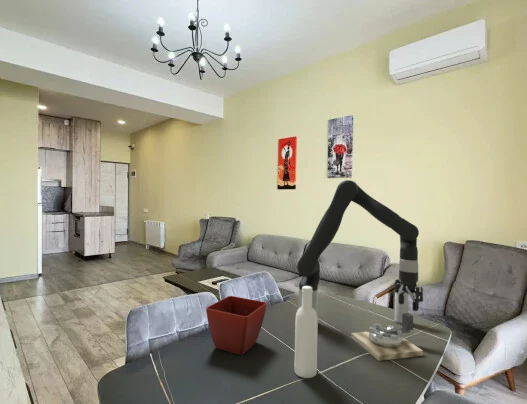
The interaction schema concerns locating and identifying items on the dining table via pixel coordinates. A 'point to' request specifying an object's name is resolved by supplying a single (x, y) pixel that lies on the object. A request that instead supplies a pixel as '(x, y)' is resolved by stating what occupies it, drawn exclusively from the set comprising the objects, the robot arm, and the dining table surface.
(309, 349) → the bottle
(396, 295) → the travel mug
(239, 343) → the plant pot
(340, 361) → the dining table surface
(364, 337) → the base plate
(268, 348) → the dining table surface
